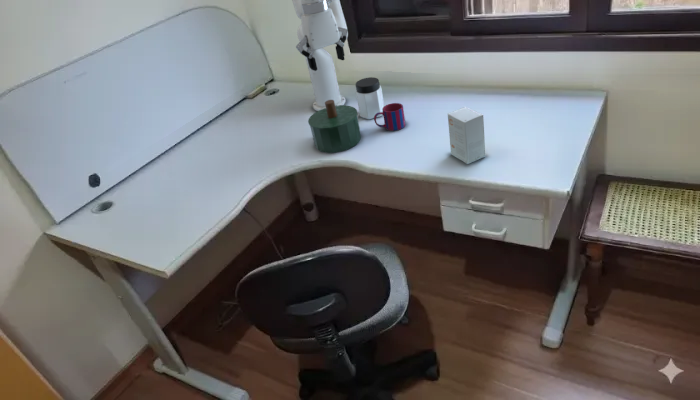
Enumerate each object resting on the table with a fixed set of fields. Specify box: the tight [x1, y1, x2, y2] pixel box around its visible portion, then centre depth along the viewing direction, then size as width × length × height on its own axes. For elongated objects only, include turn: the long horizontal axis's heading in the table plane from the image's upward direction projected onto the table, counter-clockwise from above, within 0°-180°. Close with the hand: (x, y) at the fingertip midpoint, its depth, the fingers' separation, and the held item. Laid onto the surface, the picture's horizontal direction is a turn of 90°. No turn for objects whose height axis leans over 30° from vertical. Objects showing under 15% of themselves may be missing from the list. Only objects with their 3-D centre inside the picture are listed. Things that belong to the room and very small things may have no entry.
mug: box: [373, 102, 406, 132], centre depth 170 cm, size 7×10×7 cm
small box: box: [447, 106, 486, 165], centre depth 144 cm, size 8×6×13 cm
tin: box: [309, 116, 362, 154], centre depth 168 cm, size 15×15×8 cm
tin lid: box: [307, 100, 359, 130], centre depth 164 cm, size 16×16×6 cm
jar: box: [355, 76, 385, 120], centre depth 180 cm, size 9×8×12 cm
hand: (327, 64), depth 158 cm, fingers open, 9 cm apart
